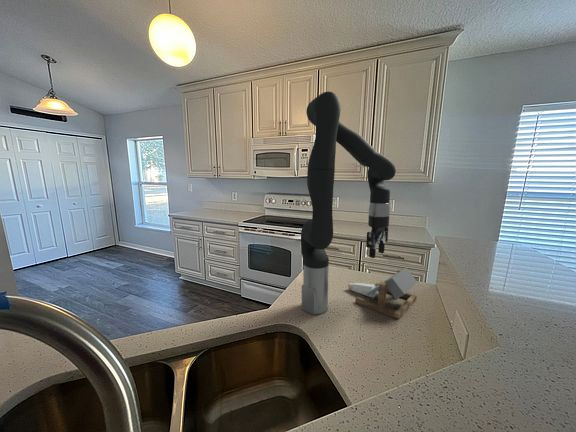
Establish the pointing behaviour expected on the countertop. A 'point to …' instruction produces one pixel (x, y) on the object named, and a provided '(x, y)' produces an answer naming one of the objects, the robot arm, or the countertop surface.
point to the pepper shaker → (362, 288)
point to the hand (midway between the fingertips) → (376, 255)
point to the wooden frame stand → (382, 301)
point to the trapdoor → (398, 283)
